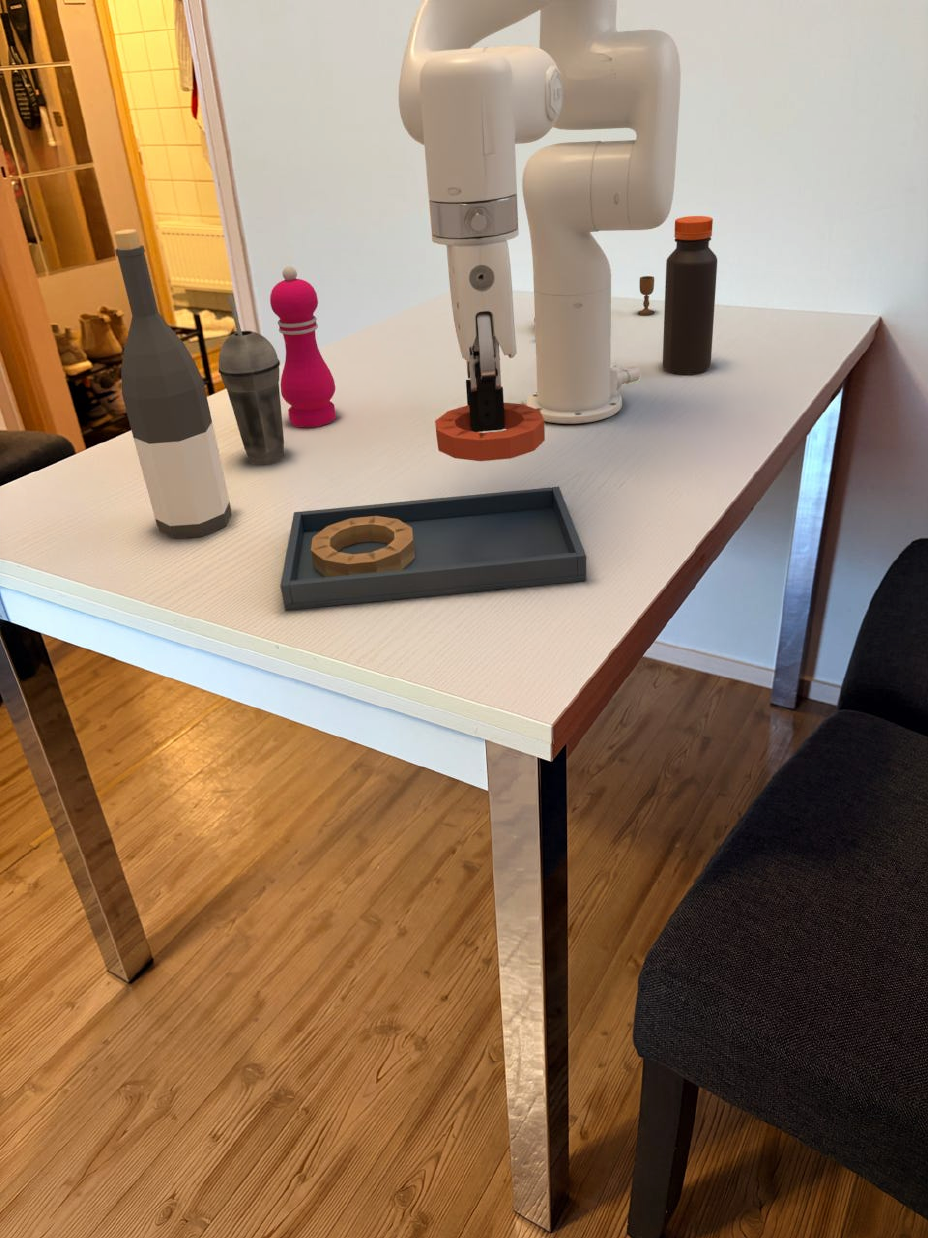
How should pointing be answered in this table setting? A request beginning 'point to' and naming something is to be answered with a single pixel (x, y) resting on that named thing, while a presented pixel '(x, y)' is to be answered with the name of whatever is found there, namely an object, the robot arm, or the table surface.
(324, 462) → the table surface
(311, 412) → the pepper mill
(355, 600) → the tray
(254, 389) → the beverage cup
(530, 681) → the table surface
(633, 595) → the table surface
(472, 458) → the terracotta ring
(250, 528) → the table surface
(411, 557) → the birch ring
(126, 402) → the wine bottle
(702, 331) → the vinegar
